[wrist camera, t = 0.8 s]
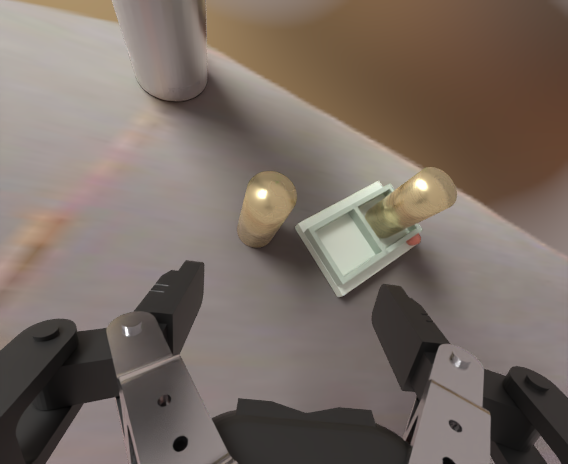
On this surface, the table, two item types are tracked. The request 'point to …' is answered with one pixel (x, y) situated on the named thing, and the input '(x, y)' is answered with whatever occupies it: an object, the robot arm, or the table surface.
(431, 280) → the table surface
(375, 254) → the pale green divided tray
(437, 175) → the seated billet
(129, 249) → the table surface
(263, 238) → the billet
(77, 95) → the table surface
